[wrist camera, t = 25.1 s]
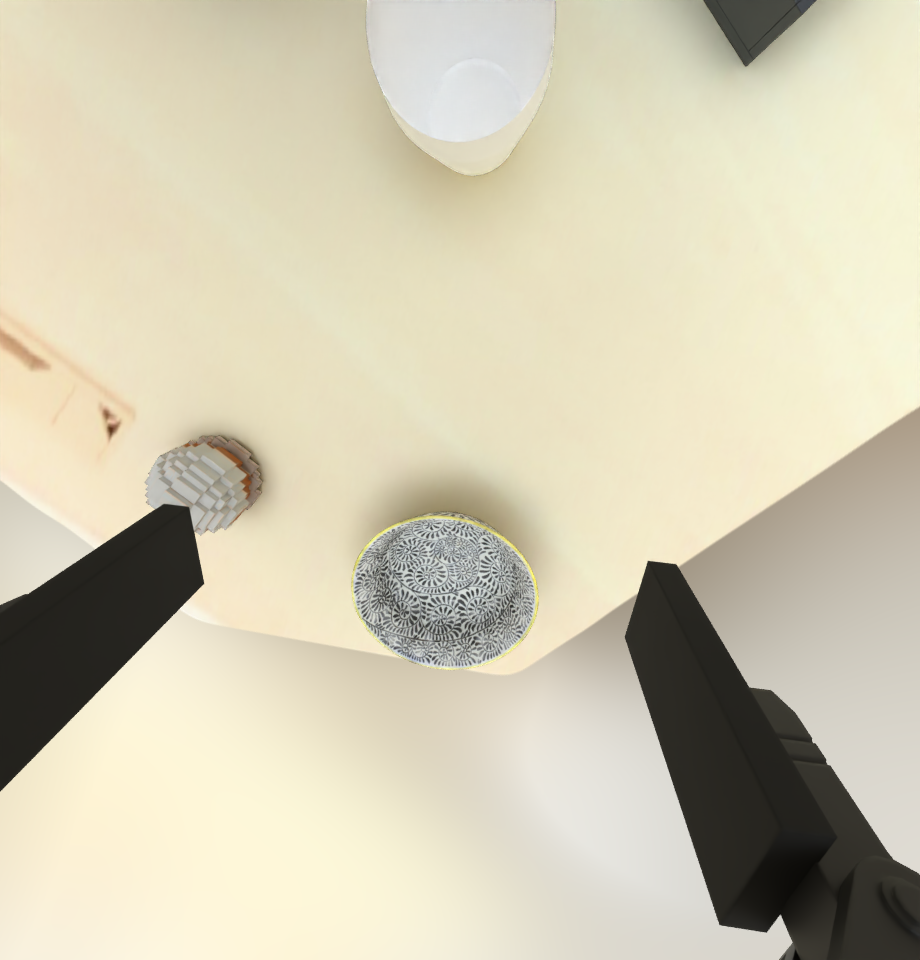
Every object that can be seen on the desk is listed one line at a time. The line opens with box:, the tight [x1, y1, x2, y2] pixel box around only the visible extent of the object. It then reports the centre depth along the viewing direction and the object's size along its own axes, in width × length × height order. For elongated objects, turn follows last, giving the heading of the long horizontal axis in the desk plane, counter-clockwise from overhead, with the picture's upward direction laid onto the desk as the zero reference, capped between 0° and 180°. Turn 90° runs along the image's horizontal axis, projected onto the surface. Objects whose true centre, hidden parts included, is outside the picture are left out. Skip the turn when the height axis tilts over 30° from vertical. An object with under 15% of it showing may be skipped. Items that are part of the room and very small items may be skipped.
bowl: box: [351, 512, 538, 670], centre depth 42 cm, size 16×16×8 cm
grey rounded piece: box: [145, 435, 263, 535], centre depth 37 cm, size 8×8×15 cm
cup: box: [366, 0, 556, 176], centre depth 26 cm, size 9×9×12 cm
